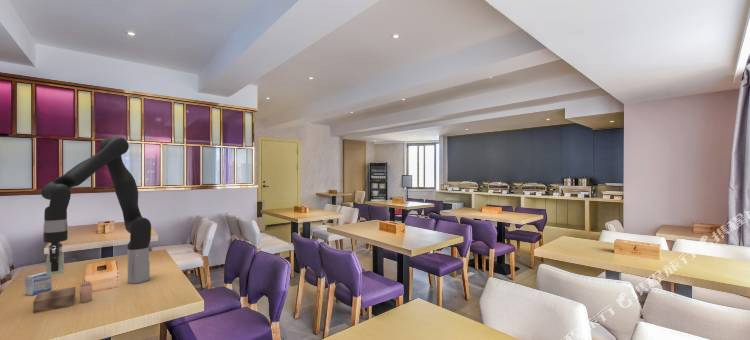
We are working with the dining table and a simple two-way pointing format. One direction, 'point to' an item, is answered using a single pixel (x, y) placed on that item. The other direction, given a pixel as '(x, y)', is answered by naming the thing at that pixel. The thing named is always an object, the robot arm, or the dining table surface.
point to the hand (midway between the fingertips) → (55, 269)
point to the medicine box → (37, 283)
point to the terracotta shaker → (85, 292)
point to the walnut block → (54, 300)
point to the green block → (60, 265)
